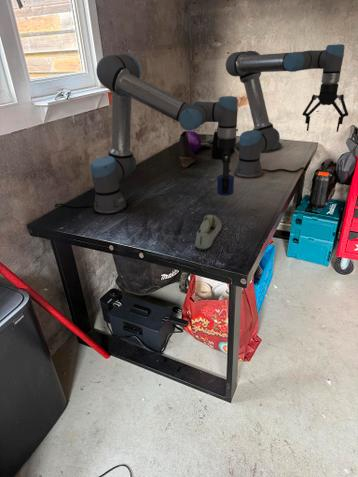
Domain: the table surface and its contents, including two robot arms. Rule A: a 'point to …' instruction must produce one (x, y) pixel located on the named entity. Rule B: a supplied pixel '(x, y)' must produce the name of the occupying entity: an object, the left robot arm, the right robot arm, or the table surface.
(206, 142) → the pair of gloves
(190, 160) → the boot
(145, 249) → the table surface
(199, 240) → the ballet flat
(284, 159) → the table surface
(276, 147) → the miniature village
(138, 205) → the table surface
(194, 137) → the decorative orb
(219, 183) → the canister
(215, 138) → the handbag
